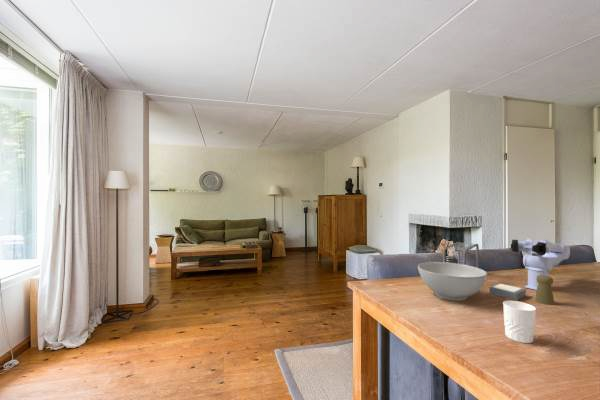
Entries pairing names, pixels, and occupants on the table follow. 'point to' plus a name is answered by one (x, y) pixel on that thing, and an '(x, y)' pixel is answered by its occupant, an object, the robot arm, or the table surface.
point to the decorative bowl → (452, 279)
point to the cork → (544, 290)
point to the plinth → (508, 291)
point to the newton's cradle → (463, 252)
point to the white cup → (519, 321)
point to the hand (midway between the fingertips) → (522, 247)
